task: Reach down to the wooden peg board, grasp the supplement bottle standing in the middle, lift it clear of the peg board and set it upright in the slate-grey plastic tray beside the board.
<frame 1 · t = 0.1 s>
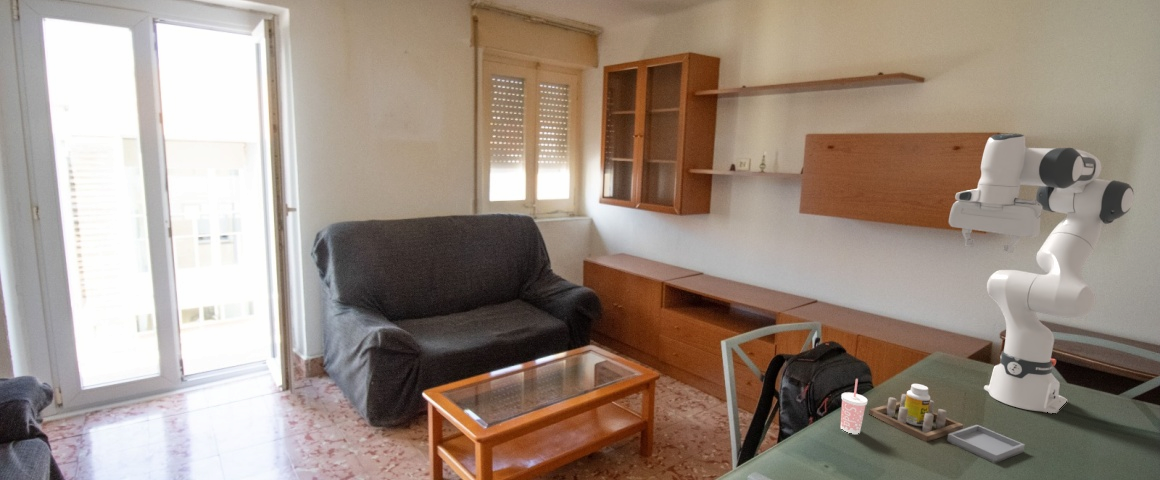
hand: (988, 249, 148), 48 cm above the table, tool pointing down, fingers open, 8 cm apart
supplement bottle: (914, 422, 153), resting in wooden peg board
wooden peg board: (914, 422, 153), on the table
beverage cup: (850, 430, 147), on the table
tray: (984, 446, 141), on the table
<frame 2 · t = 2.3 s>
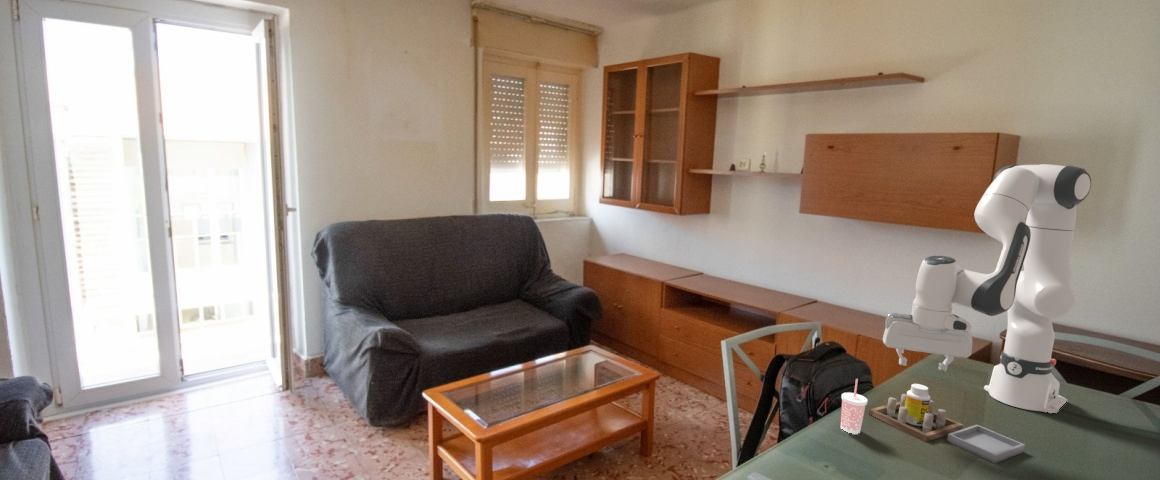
hand: (922, 367, 150), 16 cm above the table, tool pointing down, fingers open, 8 cm apart
nothing on the table moved.
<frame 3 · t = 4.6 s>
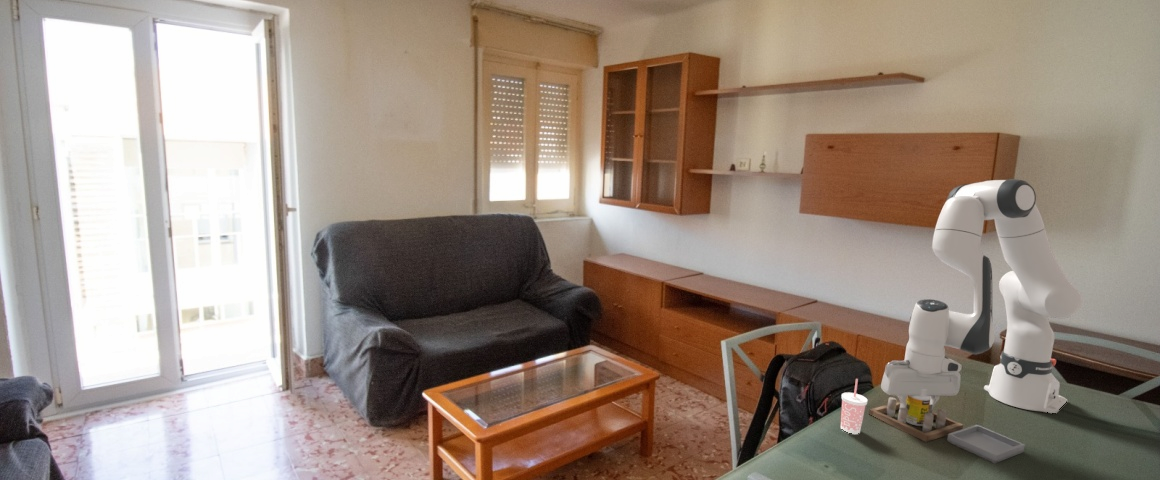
hand: (916, 409, 152), 4 cm above the table, tool pointing down, fingers closed on supplement bottle, 5 cm apart
supplement bottle: (914, 422, 153), resting in wooden peg board, touching gripper
everything else where it was.
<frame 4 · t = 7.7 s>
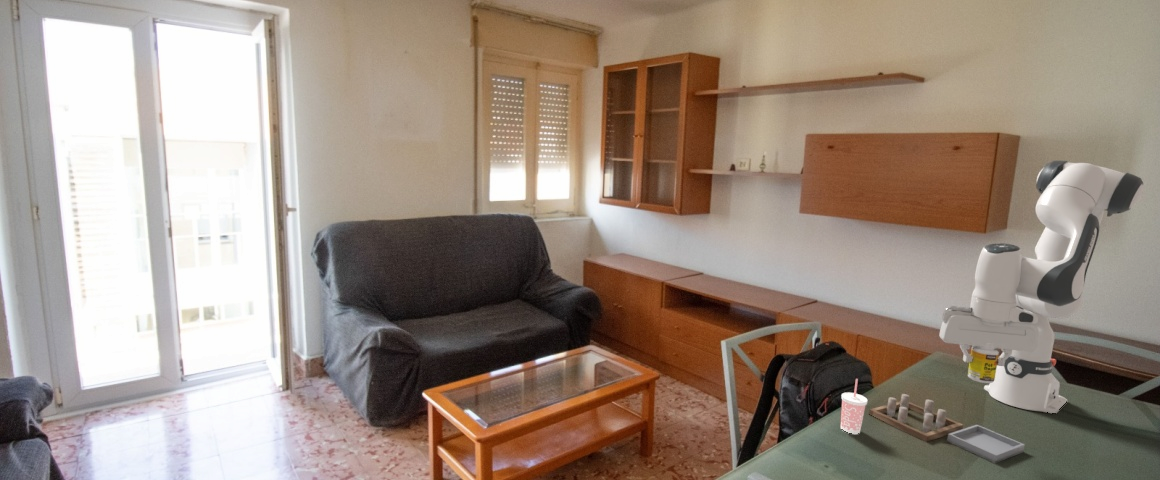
hand: (983, 363, 140), 21 cm above the table, tool pointing down, fingers closed on supplement bottle, 5 cm apart
supplement bottle: (980, 380, 141), point 16 cm above the table, touching gripper
everything else where it was.
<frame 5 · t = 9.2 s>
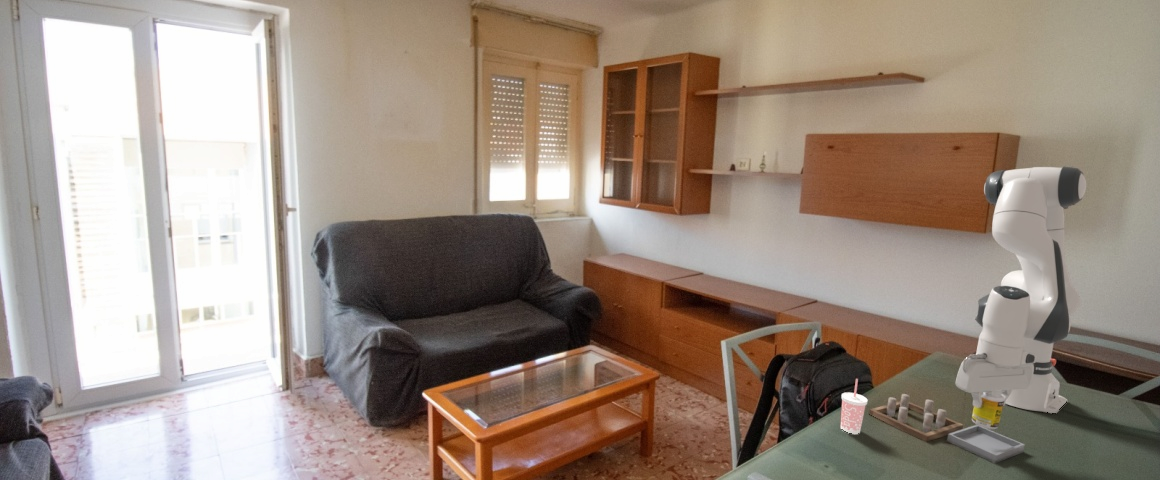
hand: (988, 405, 140), 11 cm above the table, tool pointing down, fingers closed on supplement bottle, 5 cm apart
supplement bottle: (984, 425, 141), point 5 cm above the table, touching gripper
everything else where it was.
when the fingers open (6 cm above the table, at t = 10.7 s): supplement bottle stays where it is, resting on tray.
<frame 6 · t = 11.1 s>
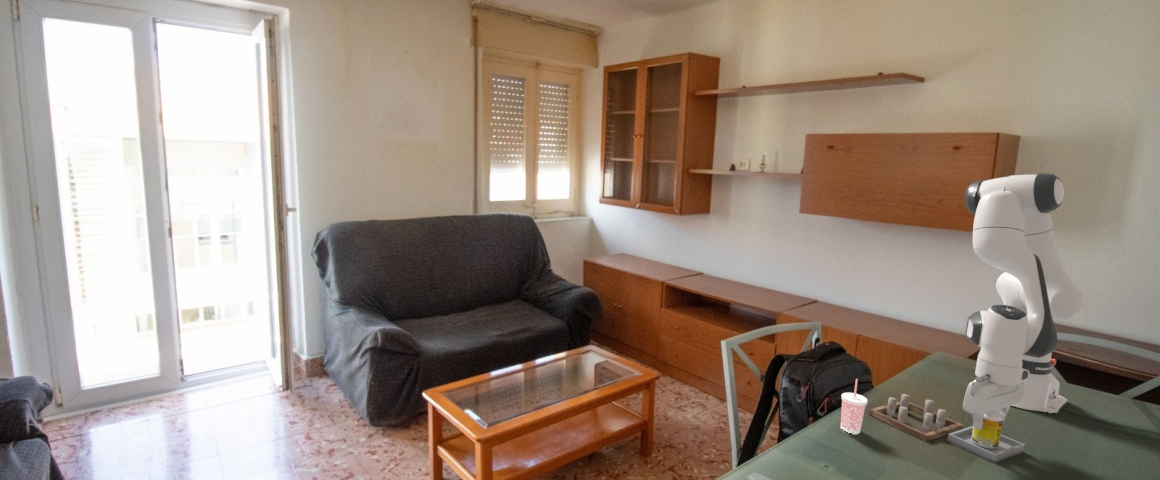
hand: (988, 424, 140), 6 cm above the table, tool pointing down, fingers open, 8 cm apart
supplement bottle: (984, 444, 141), resting on tray
everything else where it was.
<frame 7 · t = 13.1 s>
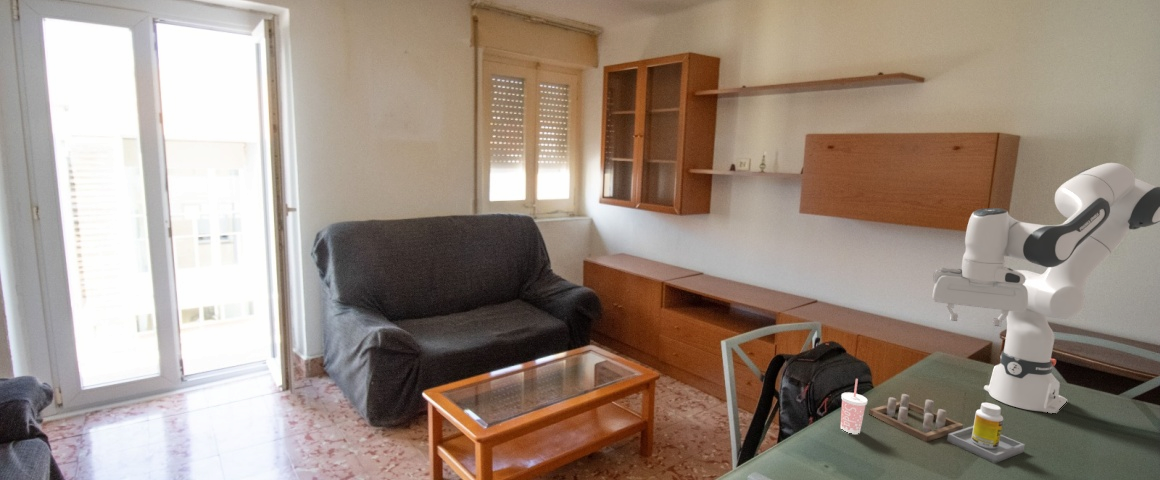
hand: (974, 323, 147), 29 cm above the table, tool pointing down, fingers open, 8 cm apart
nothing on the table moved.
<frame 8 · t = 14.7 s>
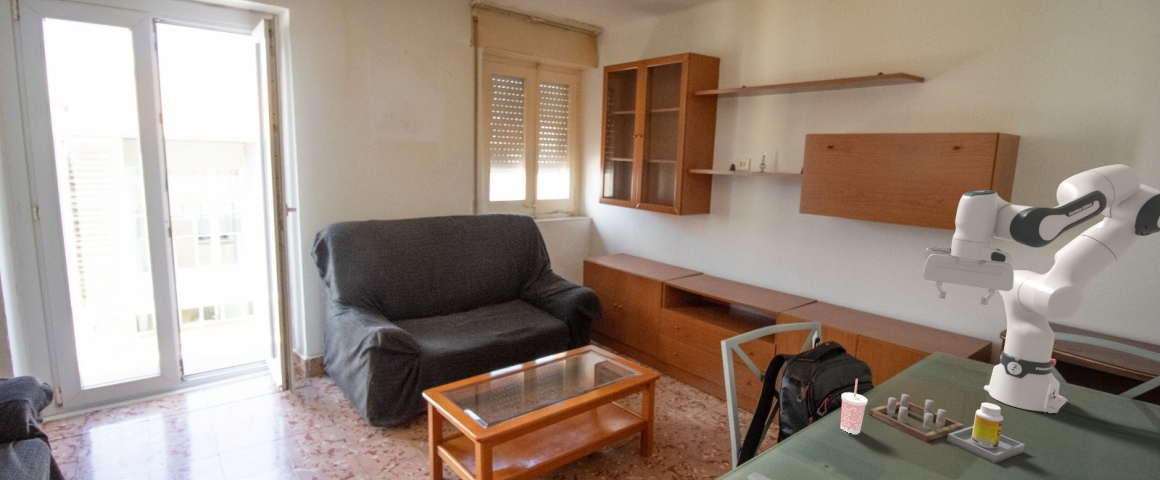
hand: (962, 301, 152), 33 cm above the table, tool pointing down, fingers open, 8 cm apart
nothing on the table moved.
at the end: supplement bottle inside the target area on the tray (0.1 cm from its centre), point 0.4 cm above the tray's base; supplement bottle tilted 0°; the gripper is holding nothing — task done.
